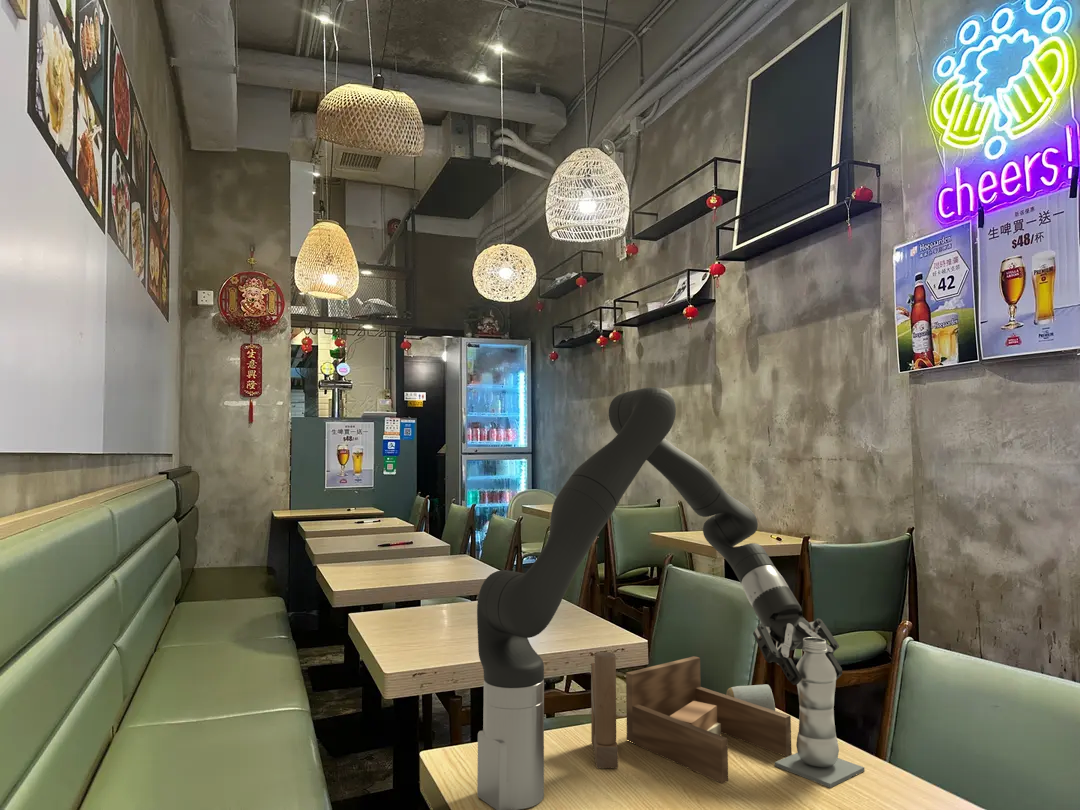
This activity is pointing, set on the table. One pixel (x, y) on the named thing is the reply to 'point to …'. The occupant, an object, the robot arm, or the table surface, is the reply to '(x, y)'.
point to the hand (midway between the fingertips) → (818, 679)
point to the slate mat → (820, 770)
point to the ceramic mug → (754, 695)
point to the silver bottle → (816, 706)
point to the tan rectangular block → (700, 716)
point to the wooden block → (604, 710)
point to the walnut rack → (686, 744)
